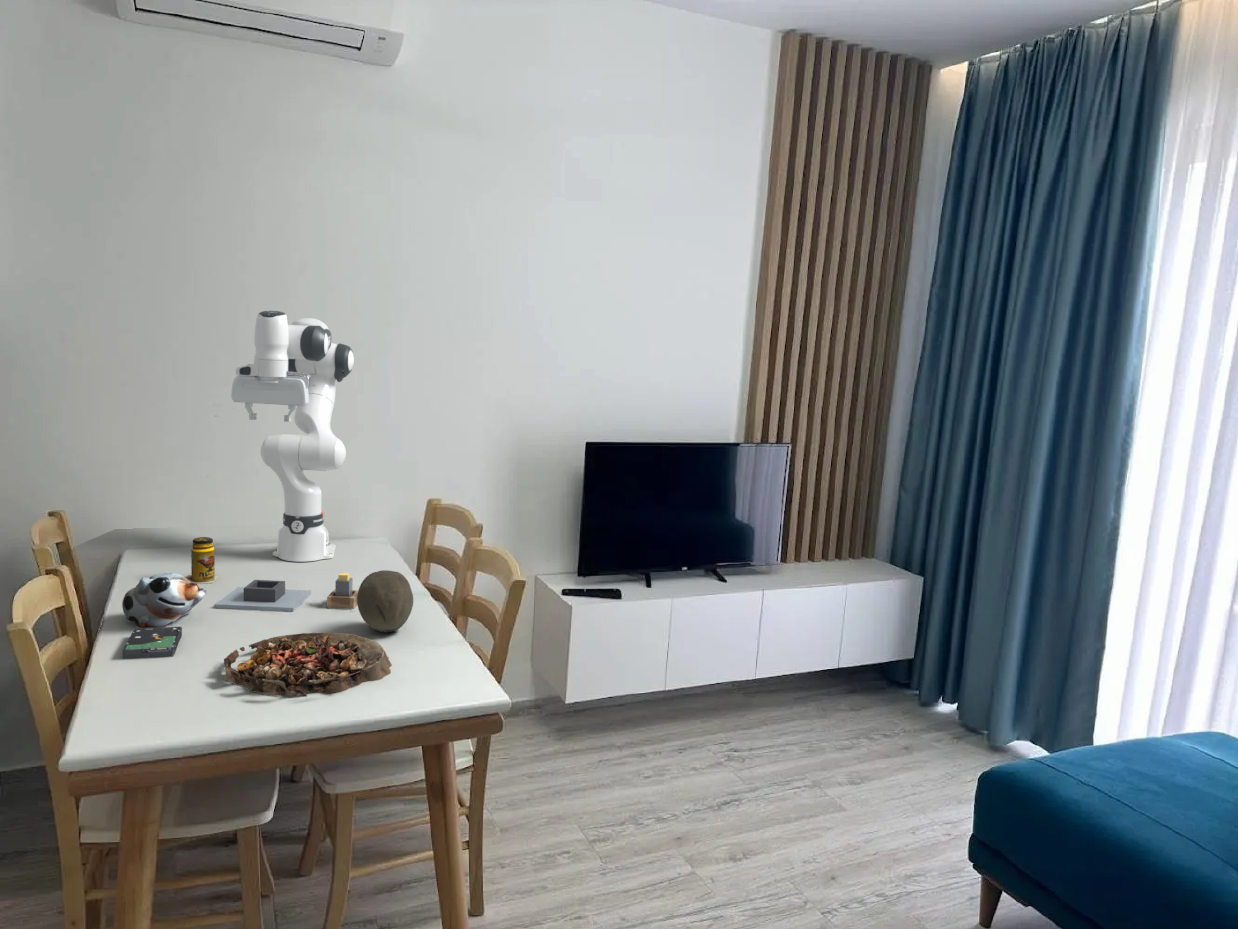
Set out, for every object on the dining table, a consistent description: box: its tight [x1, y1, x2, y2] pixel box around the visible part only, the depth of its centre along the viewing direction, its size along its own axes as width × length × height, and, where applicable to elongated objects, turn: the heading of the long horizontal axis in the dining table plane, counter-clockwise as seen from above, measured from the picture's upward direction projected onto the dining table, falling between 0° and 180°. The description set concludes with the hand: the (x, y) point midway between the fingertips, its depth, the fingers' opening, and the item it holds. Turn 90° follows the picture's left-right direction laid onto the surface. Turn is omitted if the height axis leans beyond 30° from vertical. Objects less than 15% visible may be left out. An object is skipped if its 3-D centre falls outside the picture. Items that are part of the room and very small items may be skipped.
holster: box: [326, 588, 359, 610], centre depth 251 cm, size 7×7×3 cm
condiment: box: [185, 536, 219, 584], centre depth 265 cm, size 7×8×12 cm
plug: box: [334, 572, 354, 597], centre depth 250 cm, size 4×4×8 cm
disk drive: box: [122, 626, 183, 660], centre depth 212 cm, size 10×3×15 cm
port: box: [214, 579, 312, 613], centre depth 250 cm, size 16×20×4 cm
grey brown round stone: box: [357, 569, 414, 633], centre depth 232 cm, size 14×14×15 cm
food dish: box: [223, 631, 392, 698], centre depth 204 cm, size 35×33×8 cm
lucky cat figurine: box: [121, 572, 207, 628], centre depth 229 cm, size 17×14×16 cm
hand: (270, 420), depth 257 cm, fingers open, 8 cm apart
